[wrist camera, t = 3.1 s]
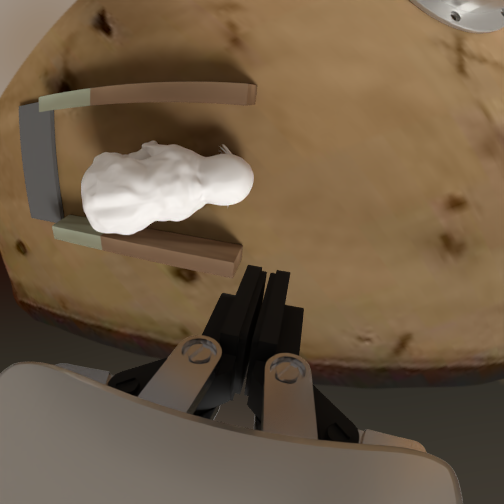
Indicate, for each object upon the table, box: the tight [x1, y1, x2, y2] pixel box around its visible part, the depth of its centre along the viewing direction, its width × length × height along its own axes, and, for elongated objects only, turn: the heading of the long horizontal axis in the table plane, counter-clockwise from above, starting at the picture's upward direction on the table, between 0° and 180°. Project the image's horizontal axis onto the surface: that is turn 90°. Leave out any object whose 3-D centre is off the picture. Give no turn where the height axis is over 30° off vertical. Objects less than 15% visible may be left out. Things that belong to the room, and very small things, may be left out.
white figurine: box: [81, 141, 254, 235], centre depth 21 cm, size 6×8×12 cm
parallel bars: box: [39, 82, 257, 278], centre depth 24 cm, size 15×20×3 cm
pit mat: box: [19, 102, 64, 223], centre depth 27 cm, size 14×6×1 cm, turn 175°
